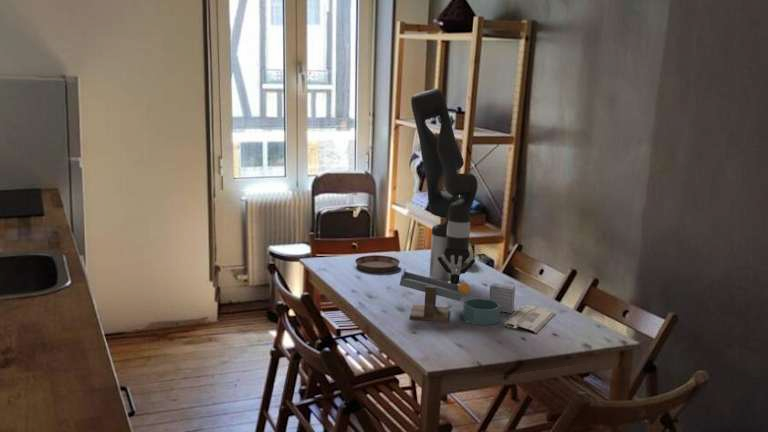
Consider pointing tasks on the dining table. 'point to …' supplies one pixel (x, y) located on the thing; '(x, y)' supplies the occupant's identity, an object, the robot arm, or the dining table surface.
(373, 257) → the plant saucer
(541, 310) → the newspaper
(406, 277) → the lever
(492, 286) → the medicine box
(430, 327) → the dining table surface
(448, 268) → the robot arm
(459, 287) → the ball
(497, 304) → the teal faceted bowl
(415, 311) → the lever stand
